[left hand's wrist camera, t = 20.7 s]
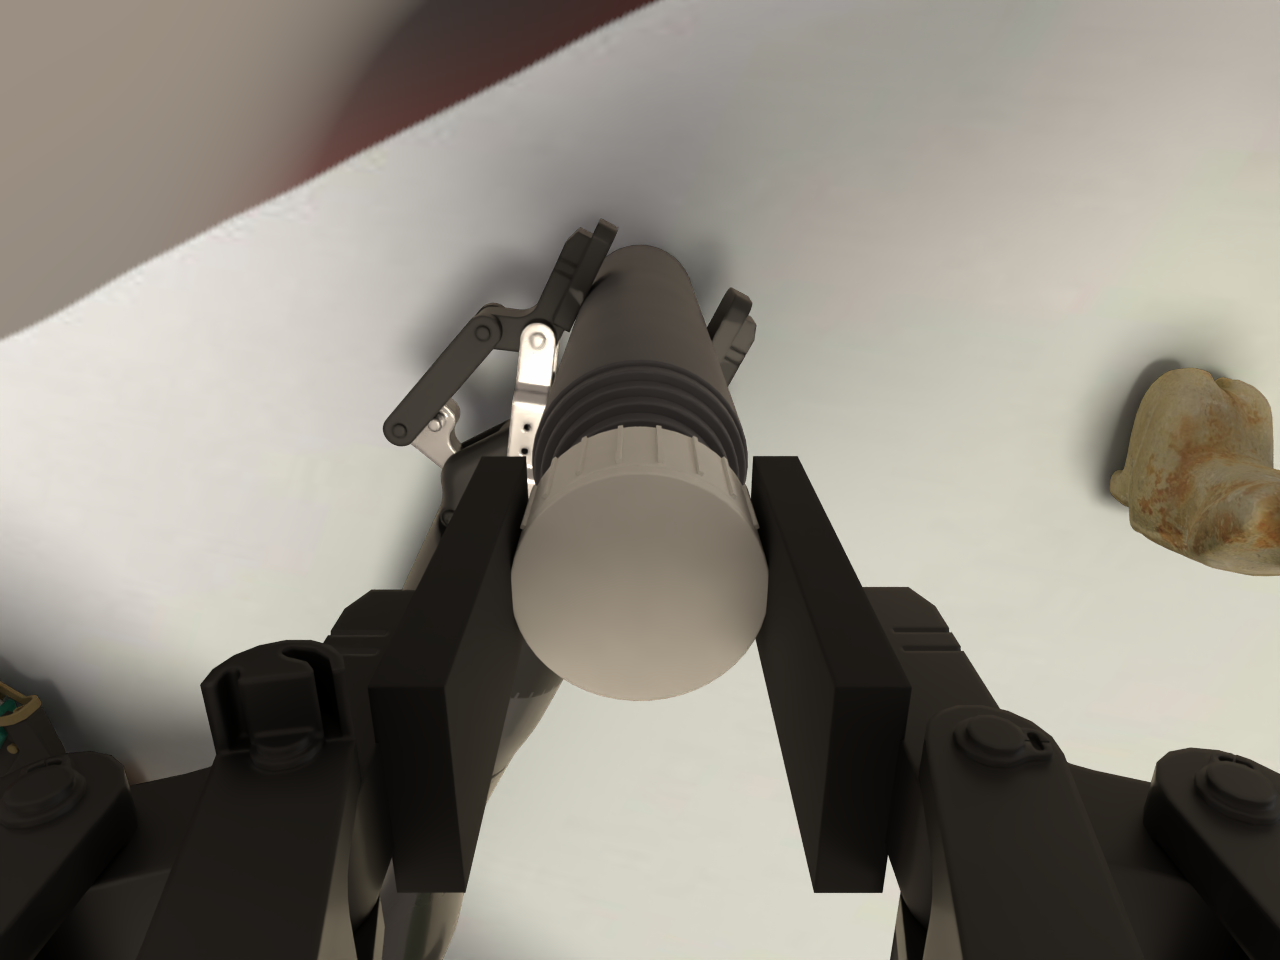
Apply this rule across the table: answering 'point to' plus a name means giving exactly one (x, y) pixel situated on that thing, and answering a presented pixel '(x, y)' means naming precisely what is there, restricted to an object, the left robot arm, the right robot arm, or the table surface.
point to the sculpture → (1204, 472)
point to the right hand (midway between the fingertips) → (674, 262)
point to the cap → (639, 565)
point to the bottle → (640, 364)
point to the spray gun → (24, 731)
